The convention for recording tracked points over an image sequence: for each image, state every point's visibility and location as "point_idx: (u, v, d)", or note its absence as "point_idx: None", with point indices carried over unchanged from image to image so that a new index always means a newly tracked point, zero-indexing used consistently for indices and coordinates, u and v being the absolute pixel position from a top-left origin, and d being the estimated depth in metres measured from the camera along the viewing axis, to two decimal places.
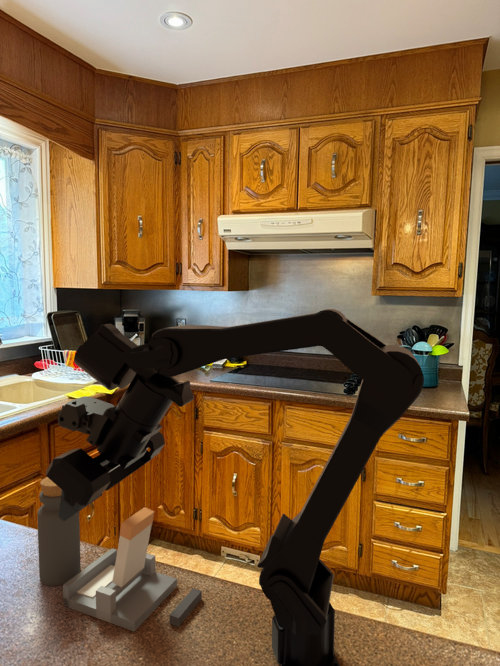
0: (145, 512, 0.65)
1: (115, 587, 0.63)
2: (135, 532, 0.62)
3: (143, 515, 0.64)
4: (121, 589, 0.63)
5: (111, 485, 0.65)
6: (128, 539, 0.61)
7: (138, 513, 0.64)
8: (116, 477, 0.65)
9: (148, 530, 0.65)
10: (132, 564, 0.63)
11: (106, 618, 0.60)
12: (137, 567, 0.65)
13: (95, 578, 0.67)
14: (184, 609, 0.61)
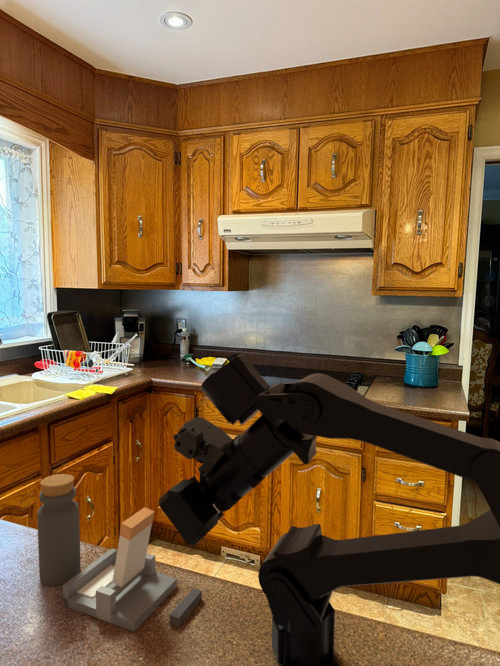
0: (145, 512, 0.65)
1: (115, 587, 0.63)
2: (135, 532, 0.62)
3: (143, 515, 0.64)
4: (121, 589, 0.63)
5: None
6: (128, 539, 0.61)
7: (138, 513, 0.64)
8: None
9: (148, 530, 0.65)
10: (132, 564, 0.63)
11: (106, 618, 0.60)
12: (137, 567, 0.65)
13: (95, 578, 0.67)
14: (184, 609, 0.61)
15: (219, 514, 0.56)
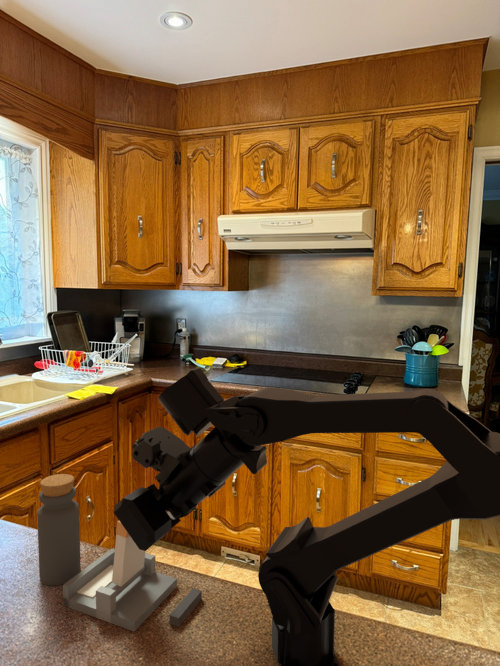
0: None
1: (115, 587, 0.63)
2: None
3: None
4: (121, 589, 0.63)
5: None
6: (125, 537, 0.61)
7: None
8: None
9: None
10: (131, 563, 0.63)
11: (106, 618, 0.60)
12: (137, 567, 0.65)
13: (95, 578, 0.67)
14: (184, 609, 0.61)
15: (176, 520, 0.59)
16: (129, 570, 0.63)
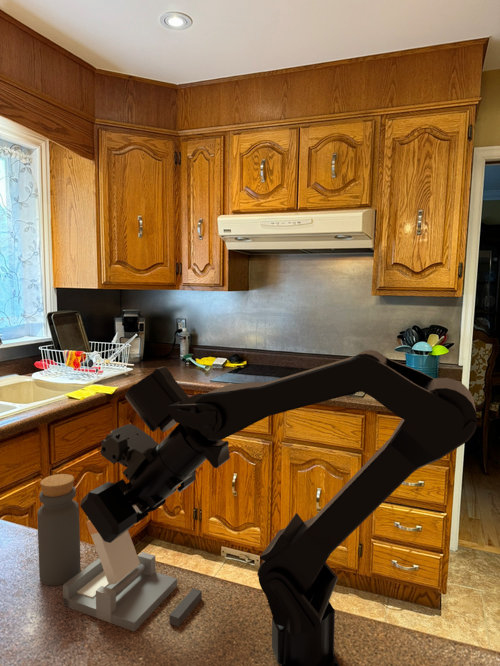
0: None
1: (113, 587, 0.63)
2: None
3: None
4: (120, 586, 0.63)
5: None
6: None
7: None
8: None
9: None
10: (119, 559, 0.64)
11: (106, 618, 0.60)
12: (130, 563, 0.66)
13: (95, 578, 0.67)
14: (184, 609, 0.61)
15: (143, 514, 0.61)
16: (121, 566, 0.64)
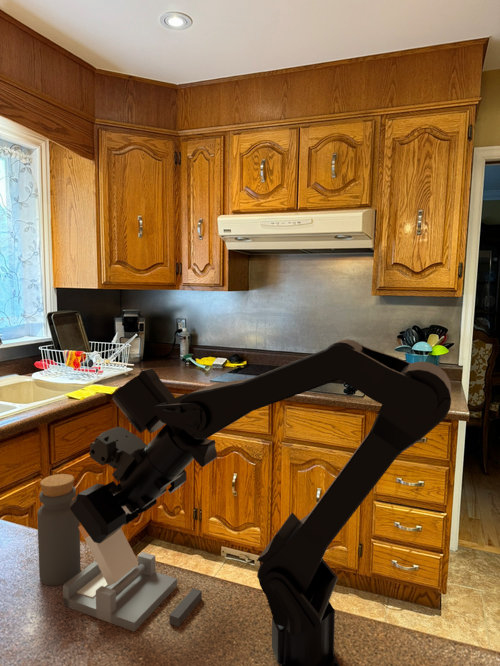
0: None
1: (113, 587, 0.63)
2: None
3: None
4: (119, 586, 0.63)
5: None
6: None
7: None
8: None
9: None
10: (116, 559, 0.65)
11: (106, 618, 0.60)
12: (128, 563, 0.66)
13: (95, 578, 0.67)
14: (184, 609, 0.61)
15: (134, 515, 0.62)
16: (118, 566, 0.64)
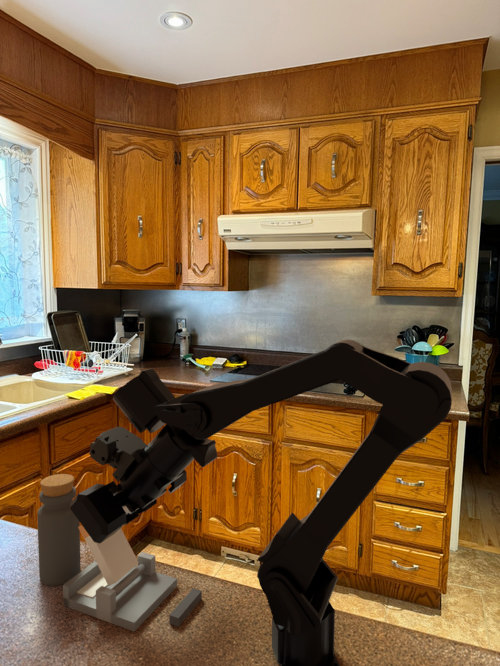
0: None
1: (113, 587, 0.63)
2: None
3: None
4: (119, 586, 0.63)
5: None
6: None
7: None
8: None
9: None
10: (116, 559, 0.65)
11: (106, 618, 0.60)
12: (128, 563, 0.66)
13: (95, 578, 0.67)
14: (184, 609, 0.61)
15: (134, 515, 0.62)
16: (118, 566, 0.64)
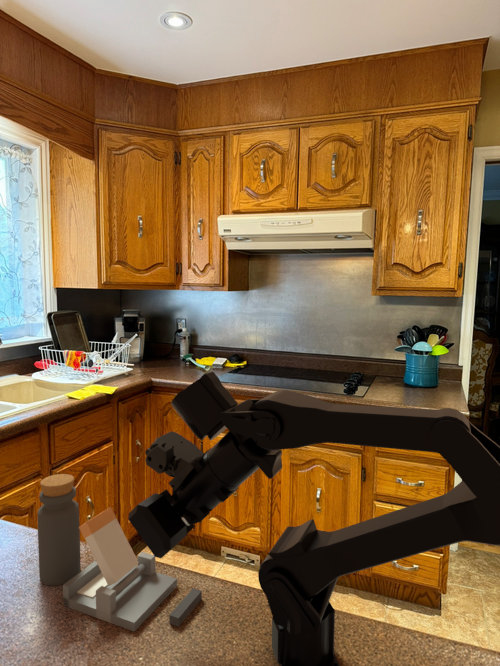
0: None
1: (113, 587, 0.63)
2: (95, 526, 0.65)
3: (100, 513, 0.67)
4: (119, 586, 0.63)
5: None
6: (91, 534, 0.64)
7: None
8: None
9: (116, 525, 0.67)
10: (116, 559, 0.64)
11: (106, 618, 0.60)
12: (128, 562, 0.66)
13: (95, 578, 0.67)
14: (184, 609, 0.61)
15: (190, 526, 0.58)
16: (118, 566, 0.64)
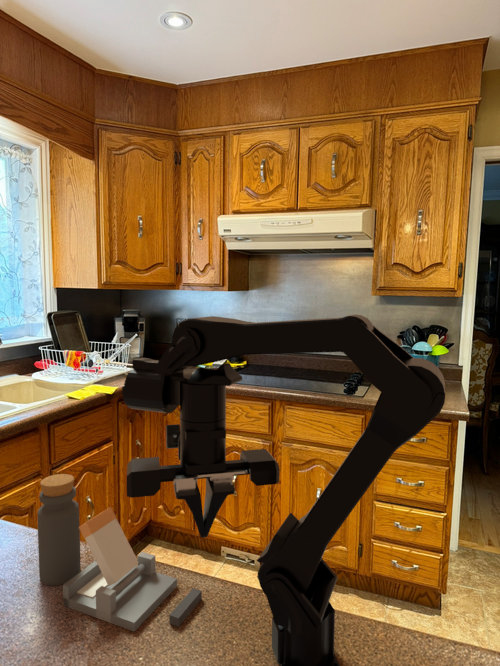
0: None
1: (113, 587, 0.63)
2: (95, 526, 0.65)
3: (100, 513, 0.67)
4: (119, 586, 0.63)
5: None
6: (91, 534, 0.64)
7: None
8: (205, 518, 0.58)
9: (116, 525, 0.67)
10: (116, 559, 0.64)
11: (106, 618, 0.60)
12: (128, 562, 0.66)
13: (95, 578, 0.67)
14: (184, 609, 0.61)
15: (194, 493, 0.56)
16: (118, 566, 0.64)
